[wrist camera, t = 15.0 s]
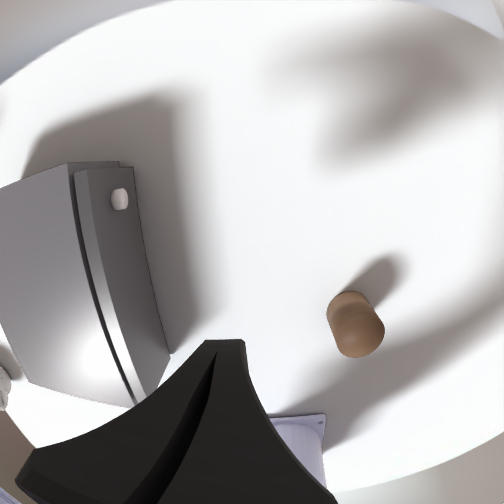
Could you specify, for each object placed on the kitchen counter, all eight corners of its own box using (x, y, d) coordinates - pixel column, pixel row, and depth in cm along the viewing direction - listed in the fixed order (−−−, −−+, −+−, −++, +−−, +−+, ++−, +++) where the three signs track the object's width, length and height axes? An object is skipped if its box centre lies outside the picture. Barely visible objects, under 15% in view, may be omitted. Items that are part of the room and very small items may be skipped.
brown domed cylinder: (365, 327, 20) (380, 353, 16) (325, 331, 20) (335, 360, 16) (369, 289, 19) (387, 312, 15) (327, 293, 19) (338, 318, 16)
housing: (160, 361, 21) (136, 409, 16) (59, 349, 22) (29, 382, 17) (118, 161, 17) (67, 162, 11) (16, 192, 18) (-31, 203, 12)
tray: (176, 358, 21) (156, 405, 16) (65, 347, 22) (35, 379, 17) (139, 165, 17) (94, 167, 11) (23, 196, 17) (-22, 207, 12)
